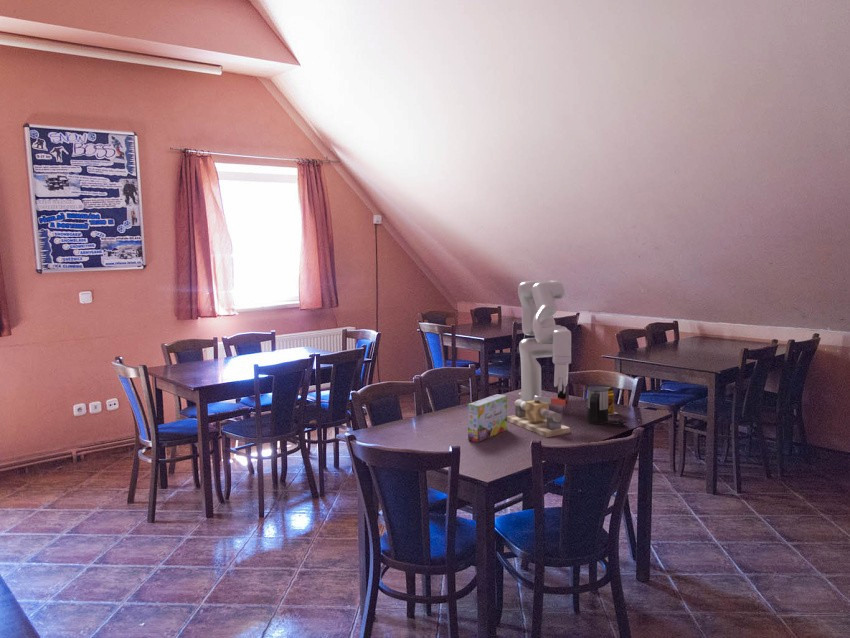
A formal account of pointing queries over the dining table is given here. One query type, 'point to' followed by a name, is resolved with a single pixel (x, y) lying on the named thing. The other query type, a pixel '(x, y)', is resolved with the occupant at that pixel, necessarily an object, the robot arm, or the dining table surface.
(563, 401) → the valve lever
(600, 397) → the milk frother
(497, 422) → the snack box
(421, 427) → the dining table surface
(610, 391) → the condiment
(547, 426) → the valve stand
